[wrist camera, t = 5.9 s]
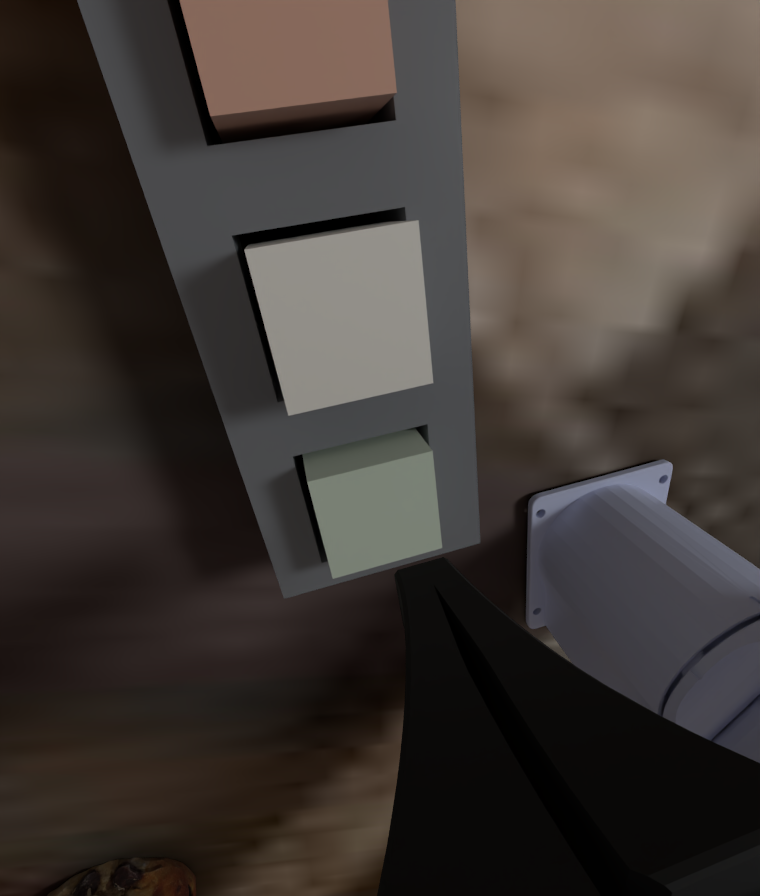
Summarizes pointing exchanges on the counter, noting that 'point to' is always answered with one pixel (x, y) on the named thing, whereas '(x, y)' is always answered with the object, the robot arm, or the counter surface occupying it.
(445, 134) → the keypad
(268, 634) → the counter surface
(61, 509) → the counter surface
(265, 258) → the cream cube
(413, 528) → the sage key
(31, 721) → the counter surface
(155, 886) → the bread roll
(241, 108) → the brown cube
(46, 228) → the counter surface
